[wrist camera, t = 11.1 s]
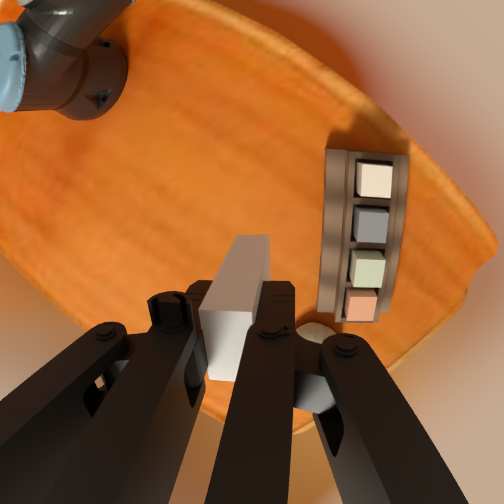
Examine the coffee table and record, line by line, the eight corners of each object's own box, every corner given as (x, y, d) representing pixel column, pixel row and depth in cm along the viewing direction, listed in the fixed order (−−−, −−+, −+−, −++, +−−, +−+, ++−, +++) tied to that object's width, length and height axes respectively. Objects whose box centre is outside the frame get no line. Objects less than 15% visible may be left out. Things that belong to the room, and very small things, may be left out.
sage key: (352, 249, 42) (356, 259, 38) (379, 250, 41) (385, 260, 38) (349, 275, 43) (353, 287, 40) (375, 276, 43) (381, 287, 39)
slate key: (354, 205, 41) (359, 211, 37) (382, 207, 40) (389, 213, 37) (352, 233, 42) (357, 241, 39) (379, 235, 41) (385, 243, 38)
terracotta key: (346, 285, 45) (350, 296, 41) (372, 286, 44) (377, 297, 41) (343, 308, 46) (346, 320, 43) (368, 308, 46) (372, 321, 42)
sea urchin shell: (292, 372, 54) (285, 370, 47) (288, 332, 58) (281, 324, 51) (341, 365, 52) (342, 363, 45) (336, 324, 56) (335, 315, 49)
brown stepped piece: (324, 148, 42) (329, 149, 37) (403, 154, 40) (416, 157, 35) (316, 304, 51) (318, 322, 46) (384, 305, 49) (392, 322, 44)
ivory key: (356, 162, 38) (362, 164, 35) (384, 164, 38) (392, 166, 35) (355, 191, 40) (360, 196, 37) (383, 193, 39) (390, 198, 36)
